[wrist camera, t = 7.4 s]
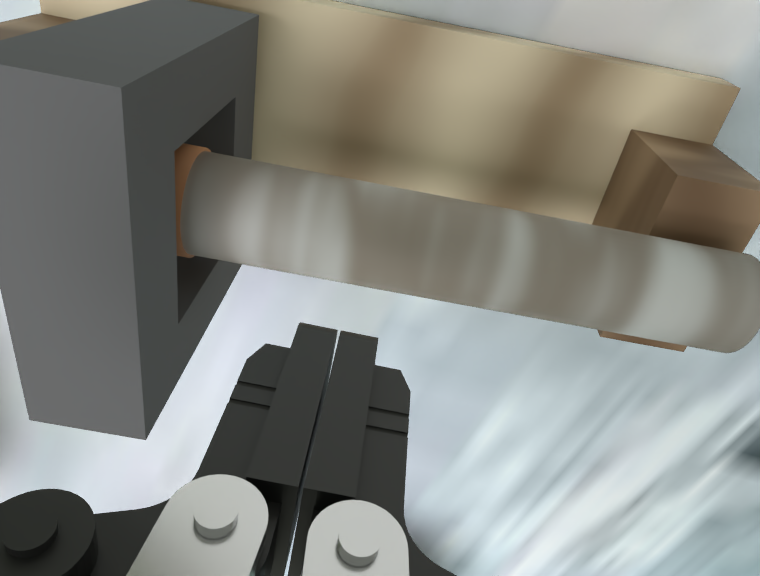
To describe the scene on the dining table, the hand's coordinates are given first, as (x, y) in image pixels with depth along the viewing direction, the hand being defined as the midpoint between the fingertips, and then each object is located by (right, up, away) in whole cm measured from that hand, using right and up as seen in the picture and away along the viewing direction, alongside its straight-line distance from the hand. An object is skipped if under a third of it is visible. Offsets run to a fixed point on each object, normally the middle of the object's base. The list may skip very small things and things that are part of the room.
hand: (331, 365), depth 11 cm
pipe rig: (+1, +7, +12) cm, 14 cm away
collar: (-5, +7, +10) cm, 13 cm away
